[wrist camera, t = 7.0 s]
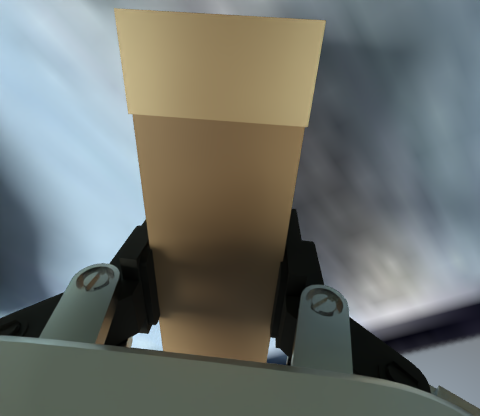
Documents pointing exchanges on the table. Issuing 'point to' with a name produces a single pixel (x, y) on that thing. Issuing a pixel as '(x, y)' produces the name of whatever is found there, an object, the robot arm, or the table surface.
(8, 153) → the table surface
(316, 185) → the table surface
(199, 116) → the walnut batten
